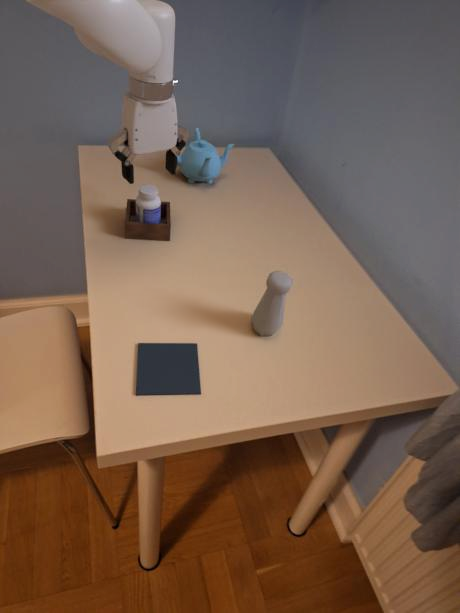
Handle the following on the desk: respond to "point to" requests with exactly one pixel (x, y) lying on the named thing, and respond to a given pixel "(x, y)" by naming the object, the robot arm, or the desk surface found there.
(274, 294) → the salt shaker
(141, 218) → the pill bottle
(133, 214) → the caddy
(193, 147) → the teapot
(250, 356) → the desk surface
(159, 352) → the mat
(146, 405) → the desk surface
